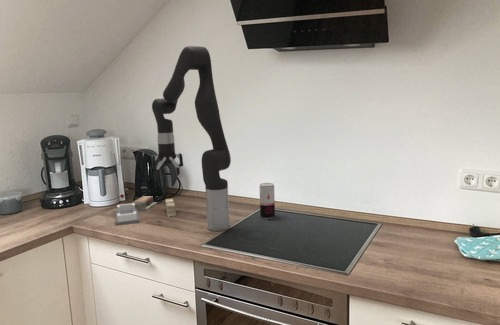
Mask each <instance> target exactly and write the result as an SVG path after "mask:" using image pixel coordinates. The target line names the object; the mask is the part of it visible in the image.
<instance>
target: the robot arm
mask: <svg viewBox="0 0 500 325" xmlns="http://www.w3.org/2000/svg"><path fill="white" fill-rule="evenodd" d="M212 67H213V66H212V60H211V55H210V51H209V49H208V48H207V47H204V46H196V45H195V46H193V45H188V46H185V47H183V48H182V50H181V52H180V54H179V56H178V59H177V62H176V64H175V67H174V70H173V73H172V76H171V78H170V80H169V81H168V83H167V85H166V86H165V88H164V90H163V92H162V97H163V98H155V99H154V100H153V101H152V103H151V111H152V113H153V116H154V119H155V122H156V125H157V126H156V127H157V128H156V129H157V149H158V150H157V152H158V154H157V155H154V154H153V155H151V168H152V169H155V171H156V172H155V174H156V177H157V178H161V172H160V170H161V169H160V168H161V167H162V166H163V165H169V164H170V165H171V164H174V166H175V175H176V176H177V177H178V176H179V175H180V174H181V173H180V168H181V167H184V160H183V154H182V153H180V152H179V153H176V148H175V147H176V146H175V135H174V124H173V121H172V119H169V118H165V115H167V114H168V115H170V114H172V113H174V112H175V111H176V108H177V104H178V101H179V98H180V97H181V95H182V94H183V92H184V91H185V87H186V83H185V77H186V74H188V72H189V71H190V70H191V71H196V70H197V72H198V77H199V84H198V90H197V92H196V95H195V99H194V108H195V113H196V117H197V118H196V119H197V120H198V123H199V124H200V125H201V126H202V129H204V130H205V132H206V133H207V135H208V137H209V139H210V141H211V144H212V148H211V149H207V150H205V151H204V152H203V153H202V155H201V156H202V157H201V171H202V172H201V173H202V179H203V182H204V186H205V207H206V208H205V209H206V223H207V226H206V227H207V229H208V230H209V231H213V232H220V231H227V230H229V228H230V211H229V209H230V208H229V207H230V206H229V184H228V183H229V182H228V180H227V179H225V178H221V176H220V172H221V171H224V170H228V168H230V166H231V161H232V159H231V153H230V150H229V146H228V144H227V143H228V142H227V139H226V137H225V133H224V129H223V124H222V120H221V115H220V109H219V105H218V104H219V103H218V100H217V95H216V91H215V90H216V89H215V85H214V78H213V68H212ZM176 158H178V159H179V160H178V161H179V163H178V162H177V161H176V160H175V159H176ZM157 160H159V161H158V163H157V165H156V161H157Z"/></svg>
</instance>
